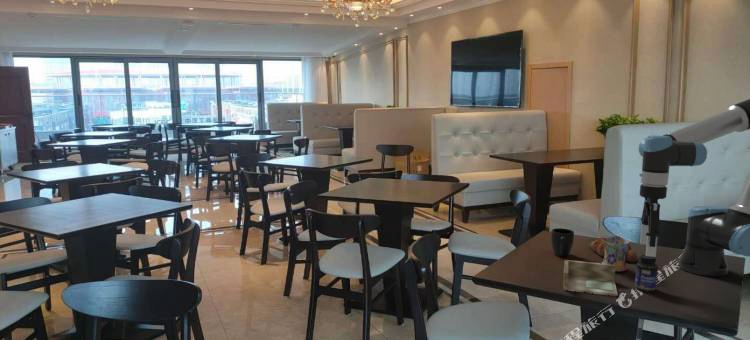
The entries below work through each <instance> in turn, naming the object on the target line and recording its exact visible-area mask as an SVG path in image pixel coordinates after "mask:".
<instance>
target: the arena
mask: <svg viewBox="0 0 750 340" xmlns="http://www.w3.org/2000/svg"><path fill="white" fill-rule="evenodd" d="M563 262H564V263H563V264H564V265H563V281H562V282H563V283H562V284H563V286H562V287H563V289H562V290H563V291H567V290H568V291H569V292H575V291H576V292H577V293H584V292H586V293H585V294H592V293H593V294H594V295H600V296H608V295H609V296H608V297H616V296H618V295H619V294H618V291H617V286H616V281H615V278H616V277H615V276H616V271H615V265H611V264H602V262H601V263H600V262H591V261H589V262H588V261H583V260H582V261H580V260H572V259H571V260H569V259H564V261H563Z"/></svg>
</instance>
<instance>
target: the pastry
mask: <svg viewBox="0 0 750 340" xmlns="http://www.w3.org/2000/svg"><path fill="white" fill-rule="evenodd" d="M610 237H617V238H622V237H621V236H619V235H613V236H612V235H611V236H610ZM602 238H603V237H600V238H598V239H597V240H592V241H591V242H590V243H589V246H588V248H589V249H590V250H591V249H592V251H593V252H594V253H595V252H596V253H595V254H597V255H598V256H600V257H601V258H604V256H605V249H604V245H603V242H602ZM637 261H638V260H637V253H636V252H635V251H634V250H632V248H631V246H630V245H629V246H628V248H627V251H626V254H625V263H626V262H627V263H631V264H635V263H636V264H637Z"/></svg>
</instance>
